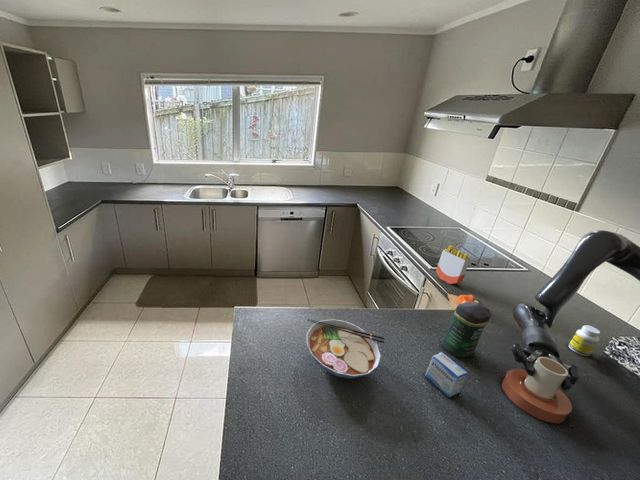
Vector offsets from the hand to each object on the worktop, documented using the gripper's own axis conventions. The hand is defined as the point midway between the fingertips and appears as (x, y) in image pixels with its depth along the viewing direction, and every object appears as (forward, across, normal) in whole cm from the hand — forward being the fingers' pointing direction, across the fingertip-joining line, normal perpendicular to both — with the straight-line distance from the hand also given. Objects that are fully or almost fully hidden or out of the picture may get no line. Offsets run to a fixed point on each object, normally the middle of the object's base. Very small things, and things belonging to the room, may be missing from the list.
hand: (548, 380), depth 76 cm
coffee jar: (-10, -19, +10) cm, 24 cm away
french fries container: (-60, -26, +10) cm, 66 cm away
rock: (-42, -18, +10) cm, 47 cm away
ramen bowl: (+22, -50, +10) cm, 55 cm away
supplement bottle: (-38, +16, +10) cm, 43 cm away
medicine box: (+10, -22, +10) cm, 26 cm away
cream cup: (-2, 0, +6) cm, 6 cm away
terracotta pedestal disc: (-2, 0, +10) cm, 10 cm away
